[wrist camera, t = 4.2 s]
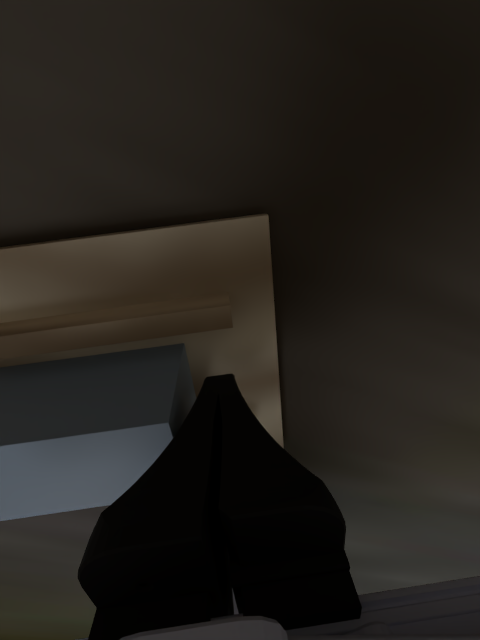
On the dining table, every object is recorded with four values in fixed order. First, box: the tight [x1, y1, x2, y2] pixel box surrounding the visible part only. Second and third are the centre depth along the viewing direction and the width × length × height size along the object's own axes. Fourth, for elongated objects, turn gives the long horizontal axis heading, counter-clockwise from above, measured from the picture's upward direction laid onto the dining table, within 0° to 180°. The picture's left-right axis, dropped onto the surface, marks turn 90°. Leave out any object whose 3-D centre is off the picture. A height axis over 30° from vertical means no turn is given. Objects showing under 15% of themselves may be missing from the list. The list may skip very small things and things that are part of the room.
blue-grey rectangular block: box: [0, 343, 196, 521], centre depth 12 cm, size 4×10×5 cm, turn 96°
